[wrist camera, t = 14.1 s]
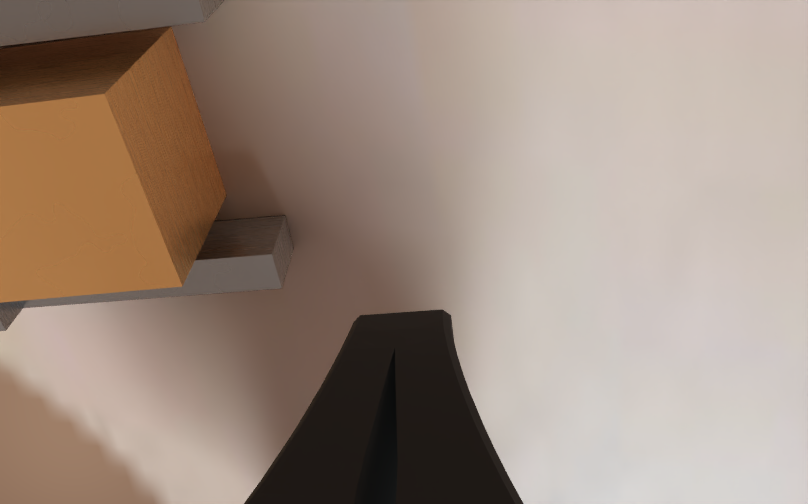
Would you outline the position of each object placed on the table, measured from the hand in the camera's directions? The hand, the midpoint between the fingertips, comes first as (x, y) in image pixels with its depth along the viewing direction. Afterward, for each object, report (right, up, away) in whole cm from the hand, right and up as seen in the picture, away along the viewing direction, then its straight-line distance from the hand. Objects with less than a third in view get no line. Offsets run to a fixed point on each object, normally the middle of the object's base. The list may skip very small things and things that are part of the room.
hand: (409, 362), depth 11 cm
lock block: (-9, +5, +9) cm, 14 cm away
